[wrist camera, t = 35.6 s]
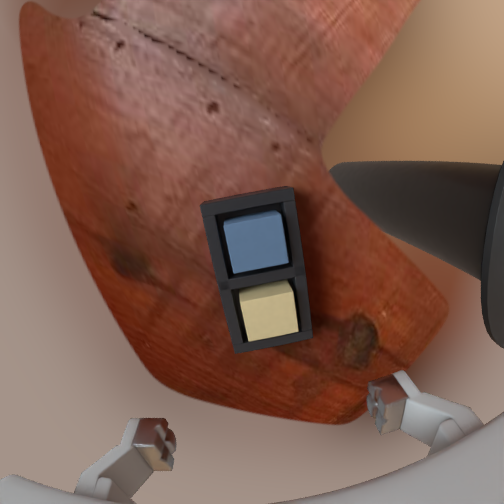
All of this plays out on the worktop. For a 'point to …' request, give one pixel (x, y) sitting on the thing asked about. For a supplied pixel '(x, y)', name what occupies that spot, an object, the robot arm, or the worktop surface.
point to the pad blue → (256, 241)
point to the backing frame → (232, 282)
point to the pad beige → (268, 310)
